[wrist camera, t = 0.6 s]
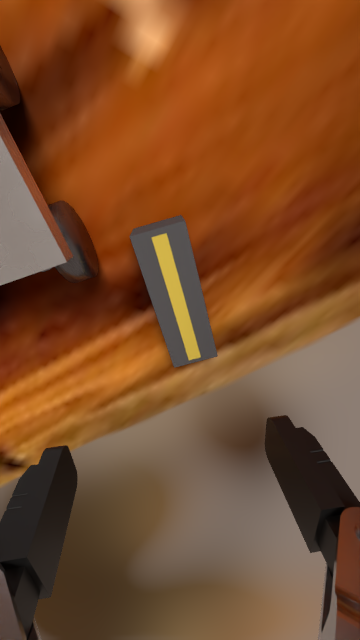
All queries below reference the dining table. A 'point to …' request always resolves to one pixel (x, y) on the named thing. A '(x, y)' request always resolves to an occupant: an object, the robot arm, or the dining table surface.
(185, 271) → the block
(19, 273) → the trolley
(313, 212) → the dining table surface
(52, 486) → the robot arm
